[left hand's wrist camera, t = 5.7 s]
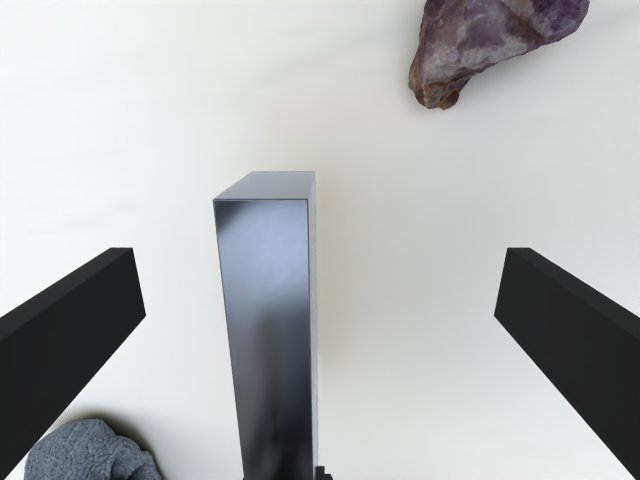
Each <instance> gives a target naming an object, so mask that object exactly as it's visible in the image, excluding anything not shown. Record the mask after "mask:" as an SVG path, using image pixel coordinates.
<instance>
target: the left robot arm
mask: <svg viewBox="0 0 640 480" xmlns="http://www.w3.org/2000/svg"><path fill="white" fill-rule="evenodd" d="M145 316H146V313H145V308H144V303H143V298H142V293H141V288H140V283H139V278H138V273H137V268H136V263H135V258H134V253H133V248H109V249H108V250H106V251H105V252H103V253H101V254H100V255H98V256H97V257H95V258H94V259H92V260H90V261H89V262H87V263H86V264H84V265H82V266H81V267H79V268H78V269H76V270H75V271H73V272H71V273H70V274H68V275H67V276H65V277H64V278H62V279H60V280H59V281H57V282H56V283H54V284H53V285H51V286H49V287H48V288H46V289H45V290H43V291H42V292H40V293H38V294H37V295H35V296H34V297H32V298H30V299H29V300H27V301H26V302H24V303H23V304H21V305H19V306H18V307H16V308H15V309H13V310H12V311H10V312H8V313H7V314H5V315H4V316H2V317H1V318H0V480H4V479H5V478H6V477H7V476H8V475H9V474H10V472H11V471H12V470H13V469H14V468H15V467H16V466H17V464H18V463H19V462H20V461H21V460H22V459H23V457H24V456H25V455H26V454H27V453H28V452H29V451H30V449H31V448H32V447H33V446H34V445H35V444H36V442H37V441H38V440H39V439H40V438H41V437H42V436H43V434H44V433H45V432H46V431H47V430H48V429H49V427H50V426H51V425H52V424H53V423H54V422H55V420H56V419H57V418H58V417H59V416H60V415H61V414H62V412H63V411H64V410H65V409H66V408H67V407H68V405H69V404H70V403H71V402H72V401H73V400H74V399H75V397H76V396H77V395H78V394H79V393H80V392H81V390H82V389H83V388H84V387H85V386H86V385H87V383H88V382H89V381H90V380H91V379H92V378H93V377H94V375H95V374H96V373H97V372H98V371H99V370H100V368H101V367H102V366H103V365H104V364H105V363H106V362H107V360H108V359H109V358H110V357H111V356H112V355H113V353H114V352H115V351H116V350H117V349H118V348H119V347H120V345H121V344H122V343H123V342H124V341H125V340H126V338H127V337H128V336H129V335H130V334H131V333H132V331H133V330H134V329H135V328H136V327H137V326H138V325H139V323H140V322H141V321H142V320H143V319H144V318H145ZM494 316H495V318H496V319H497V320H498V321H499V322H500V323H501V325H502V326H503V327H504V328H505V329H506V330H507V331H508V333H509V334H510V335H511V336H512V337H513V338H514V340H515V341H516V342H517V343H518V344H519V345H520V347H521V348H522V349H523V350H524V351H525V352H526V353H527V355H528V356H529V357H530V358H531V359H532V360H533V362H534V363H535V364H536V365H537V366H538V367H539V368H540V370H541V371H542V372H543V373H544V374H545V375H546V377H547V378H548V379H549V380H550V381H551V382H552V383H553V385H554V386H555V387H556V388H557V389H558V390H559V392H560V393H561V394H562V395H563V396H564V397H565V399H566V400H567V401H568V402H569V403H570V404H571V405H572V407H573V408H574V409H575V410H576V411H577V412H578V414H579V415H580V416H581V417H582V418H583V419H584V420H585V422H586V423H587V424H588V425H589V426H590V427H591V429H592V430H593V431H594V432H595V433H596V434H597V436H598V437H599V438H600V439H601V440H602V441H603V442H604V444H605V445H606V446H607V447H608V448H609V449H610V451H611V452H612V453H613V454H614V455H615V456H616V457H617V459H618V460H619V461H620V462H621V463H622V464H623V466H624V467H625V468H626V469H627V470H628V471H629V472H630V474H631V475H632V476H633V477H634V478H635V479H636V480H640V318H639V317H638V316H636V315H635V314H633V313H632V312H630V311H628V310H627V309H625V308H624V307H622V306H621V305H619V304H617V303H616V302H614V301H613V300H611V299H610V298H608V297H606V296H605V295H603V294H602V293H600V292H598V291H597V290H595V289H594V288H592V287H591V286H589V285H587V284H586V283H584V282H583V281H581V280H580V279H578V278H576V277H575V276H573V275H572V274H570V273H569V272H567V271H565V270H564V269H562V268H561V267H559V266H558V265H556V264H554V263H553V262H551V261H550V260H548V259H546V258H545V257H543V256H542V255H540V254H539V253H537V252H535V251H534V250H532V249H531V248H507V253H506V258H505V263H504V268H503V273H502V278H501V283H500V288H499V293H498V298H497V303H496V308H495V313H494Z"/></svg>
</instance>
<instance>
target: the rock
mask: <svg viewBox="0 0 640 480" xmlns="http://www.w3.org/2000/svg"><path fill="white" fill-rule="evenodd" d="M589 2H590V1H589V0H427V2H426V4H425V7H424V15H423V19H422V23H421V31H420V33H419V47H418V50H417V53H416V56H415V58H414V60H413V63H412V65H411V67H410V73H409V85H408V87H409V88H410V89H412V90H413V92H414V93H415V97H416V99H417V100H418V102H419V103H420V104H422V105H423V106H425V107H427V108H428V109H432V108H437V107H440V108H442V109H443V110H445V109H449V108H451V107H452V106H454V105H455V104H456V102H457V101H458V98H459V92H460V91H461V90H462V88H463V87H464V86H465V85H466V83H467V82H468V81H469V79H470V78H471V77H472V76H475V75H476V74H477V73H482V72H483V71H484V70H485V69H486V68H489V67H491V66H493V65H495V64H497V63H498V62H500V61H502V60H507V59H510V58H512V57H515V56H517V55H524V54H526V53H528V52H529V51H532V50H535V49H537V48H539V47H540V46H542V45H547V44H550V43H553V42H558V41H560V40H561V39H563V38H565V37H566V36H568V35H570V34H572V33H573V32H575V31H576V30H577V29H578V27H579V26H580V24H581V23H582V21H583V19H584V18H585V16H586V14H587V12H588V7H589Z"/></svg>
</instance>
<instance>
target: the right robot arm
mask: <svg viewBox="0 0 640 480" xmlns="http://www.w3.org/2000/svg"><path fill="white" fill-rule="evenodd" d="M243 480H244V478H243ZM316 480H333V478H332V476H331V474H325V466H317V467H316Z"/></svg>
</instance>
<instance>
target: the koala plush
mask: <svg viewBox="0 0 640 480" xmlns="http://www.w3.org/2000/svg"><path fill="white" fill-rule="evenodd" d="M156 470H157V469H156V467H155V463H154V462H153V458H152V455H150V452H148V451H141V450H140V448H139V446H138V444H137V443H136V442H135V441H134V440H131V439H130V438H126V437H123V436H117V435H115V433H114V432H113V430H112V429H110V427H109V426H108V425H107V424H106V423H104V421H103V420H99V419H87V420H77V421H76V420H73V421H70V422H67V423H66V424H65V425H63V426H61V427H60V428H58V429H56V430H55V431H53V432H52V433H50V434H48V435H47V436H45V437H44V438H43V439H41V440H40V441H39V442H38V443H36V445H34V447H32V448H31V451H30V453H29V454H28V458H27V460H26V463H25V472H24V480H162V478H161V476H160V475H159V472H157V471H156Z"/></svg>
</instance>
